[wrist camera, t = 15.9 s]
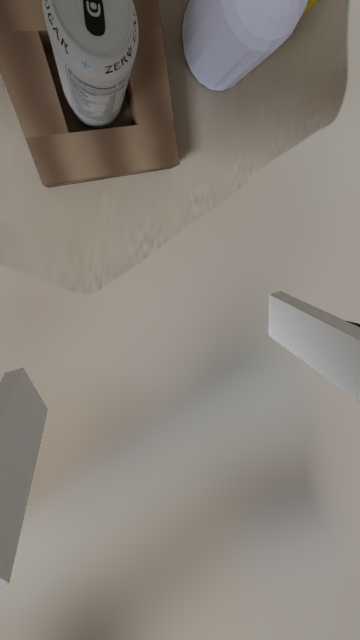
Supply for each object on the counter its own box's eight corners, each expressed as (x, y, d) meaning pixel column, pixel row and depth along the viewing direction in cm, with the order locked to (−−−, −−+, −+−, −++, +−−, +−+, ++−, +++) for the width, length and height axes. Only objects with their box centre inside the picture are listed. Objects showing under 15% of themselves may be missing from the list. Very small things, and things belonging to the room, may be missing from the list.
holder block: (48, 187, 30) (42, 185, 26) (-22, -7, 22) (-43, -46, 19) (170, 168, 33) (179, 164, 30) (144, -7, 26) (153, -40, 22)
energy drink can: (117, 66, 27) (140, -61, 14) (122, 133, 30) (145, 77, 17) (58, 56, 25) (23, -100, 12) (69, 127, 28) (48, 60, 15)
